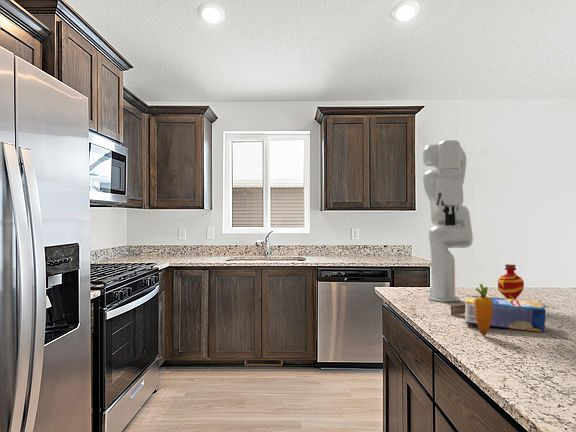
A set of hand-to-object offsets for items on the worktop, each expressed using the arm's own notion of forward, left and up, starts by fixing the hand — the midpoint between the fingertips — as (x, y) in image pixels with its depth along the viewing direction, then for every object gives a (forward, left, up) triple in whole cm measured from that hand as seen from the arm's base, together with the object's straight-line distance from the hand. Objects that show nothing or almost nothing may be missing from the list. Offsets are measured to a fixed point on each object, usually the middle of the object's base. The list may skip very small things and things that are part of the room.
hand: (450, 225), depth 159 cm
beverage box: (+12, -7, -27) cm, 31 cm away
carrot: (+26, -16, -32) cm, 44 cm away
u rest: (+10, +6, -32) cm, 34 cm away
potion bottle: (-6, +42, -32) cm, 53 cm away
